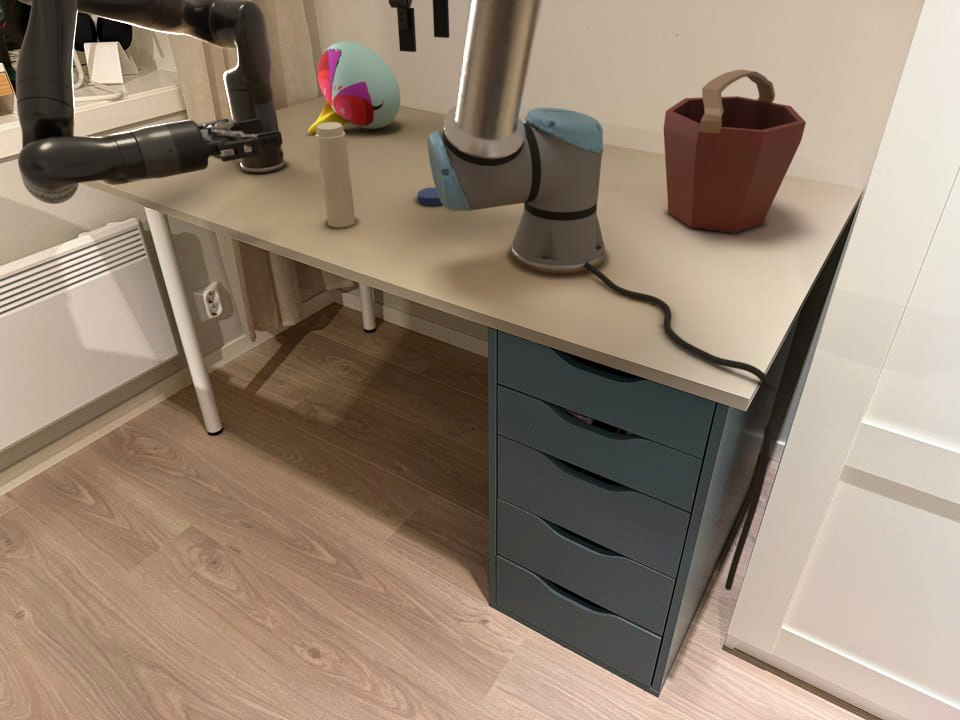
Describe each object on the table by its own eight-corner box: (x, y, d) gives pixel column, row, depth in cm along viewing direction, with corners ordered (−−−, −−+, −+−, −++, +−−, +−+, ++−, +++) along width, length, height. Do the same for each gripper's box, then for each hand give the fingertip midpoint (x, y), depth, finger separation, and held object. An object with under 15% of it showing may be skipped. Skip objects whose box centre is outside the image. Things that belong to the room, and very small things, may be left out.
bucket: (710, 250, 119) (740, 96, 105) (622, 208, 134) (638, 69, 120) (804, 218, 129) (843, 75, 115) (713, 183, 145) (736, 53, 131)
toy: (277, 110, 181) (275, 51, 163) (352, 72, 191) (358, 13, 173) (336, 175, 178) (341, 122, 160) (410, 134, 188) (421, 79, 170)
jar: (360, 221, 130) (350, 125, 120) (338, 230, 127) (325, 131, 117) (344, 214, 133) (332, 119, 123) (322, 222, 130) (308, 125, 120)
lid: (431, 192, 142) (430, 185, 141) (453, 199, 139) (453, 191, 138) (411, 201, 138) (411, 193, 137) (434, 208, 135) (433, 200, 134)
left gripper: (176, 136, 100) (284, 117, 108) (149, 114, 110) (250, 98, 118) (189, 187, 104) (292, 165, 112) (162, 161, 114) (258, 143, 122)
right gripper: (430, -104, 121) (436, 30, 133) (357, -101, 102) (371, 56, 114) (470, -104, 119) (472, 33, 131) (404, -101, 100) (413, 59, 112)
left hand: (270, 131), depth 115 cm, fingers open, 8 cm apart
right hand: (425, 44), depth 123 cm, fingers open, 13 cm apart
